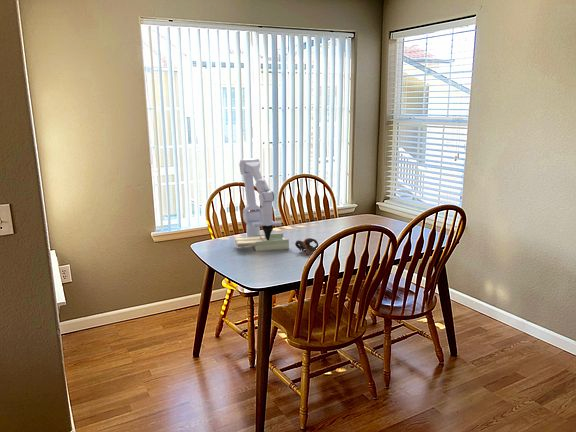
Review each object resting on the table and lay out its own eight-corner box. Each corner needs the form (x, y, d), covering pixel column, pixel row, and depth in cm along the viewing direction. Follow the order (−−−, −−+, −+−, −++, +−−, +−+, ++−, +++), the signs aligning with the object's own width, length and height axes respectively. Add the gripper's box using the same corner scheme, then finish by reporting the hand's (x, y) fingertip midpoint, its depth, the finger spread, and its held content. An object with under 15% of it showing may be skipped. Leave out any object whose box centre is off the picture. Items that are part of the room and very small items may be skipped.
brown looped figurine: (317, 250, 250) (321, 238, 245) (314, 263, 243) (318, 251, 238) (295, 243, 251) (298, 232, 245) (291, 256, 244) (294, 245, 238)
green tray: (251, 244, 259) (251, 235, 258) (283, 242, 263) (282, 232, 262) (256, 251, 247) (255, 242, 246) (288, 249, 251) (288, 239, 250)
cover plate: (235, 241, 255) (234, 237, 255) (263, 238, 259) (263, 234, 258) (238, 247, 245) (237, 243, 245) (268, 244, 248) (268, 240, 248)
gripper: (254, 217, 245) (255, 242, 248) (282, 214, 248) (283, 240, 252) (252, 213, 252) (252, 239, 255) (279, 211, 255) (279, 236, 258)
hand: (267, 239), depth 254 cm, fingers closed
